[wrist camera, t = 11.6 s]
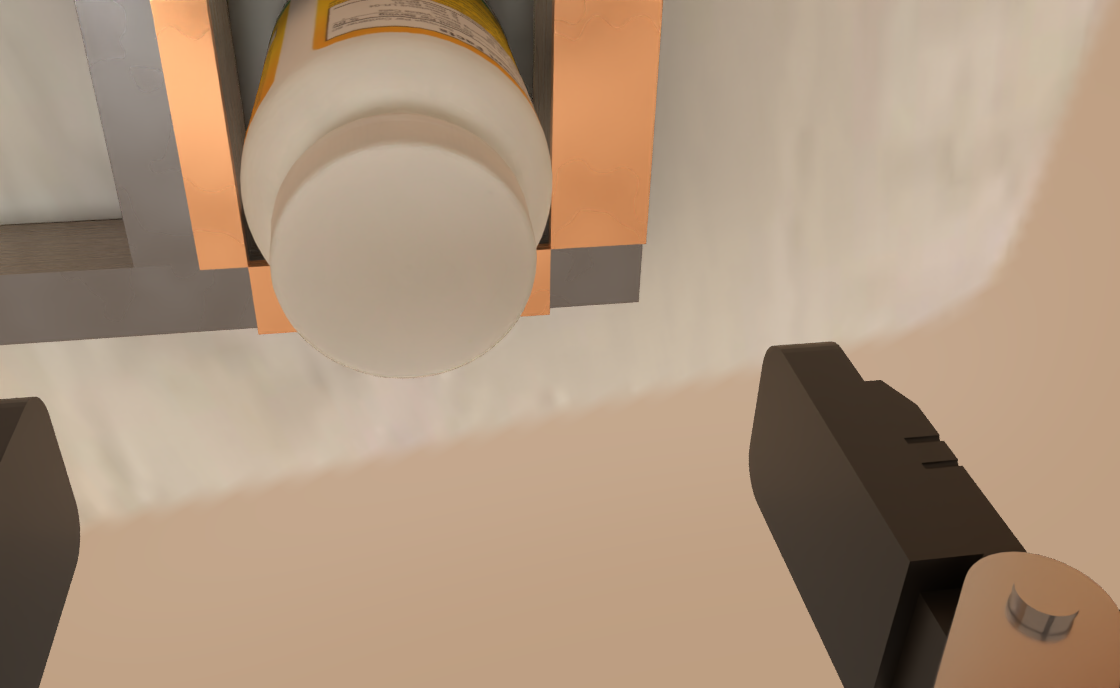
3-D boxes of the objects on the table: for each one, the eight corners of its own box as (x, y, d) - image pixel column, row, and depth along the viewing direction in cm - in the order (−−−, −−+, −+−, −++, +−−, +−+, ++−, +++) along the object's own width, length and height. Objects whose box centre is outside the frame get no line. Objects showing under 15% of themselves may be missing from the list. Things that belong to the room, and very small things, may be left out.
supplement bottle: (405, -109, 22) (437, 11, 14) (553, 88, 24) (652, 284, 16) (212, 51, 23) (139, 249, 15) (375, 223, 26) (387, 468, 18)
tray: (-448, -178, 19) (-561, -158, 16) (639, -175, 22) (673, -158, 19) (-233, 305, 24) (-296, 372, 22) (616, 254, 27) (641, 308, 25)
